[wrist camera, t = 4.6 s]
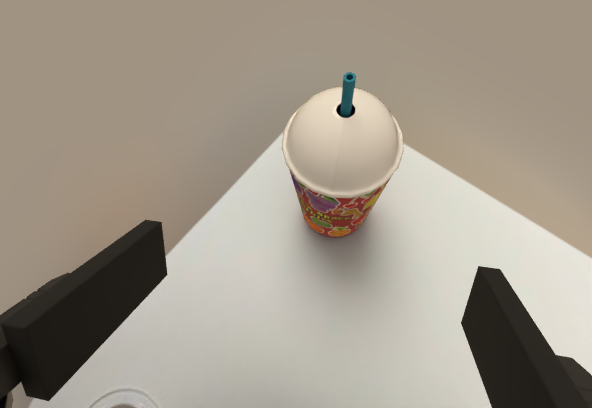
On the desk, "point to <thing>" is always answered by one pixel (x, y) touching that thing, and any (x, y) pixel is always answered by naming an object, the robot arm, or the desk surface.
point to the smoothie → (341, 156)
